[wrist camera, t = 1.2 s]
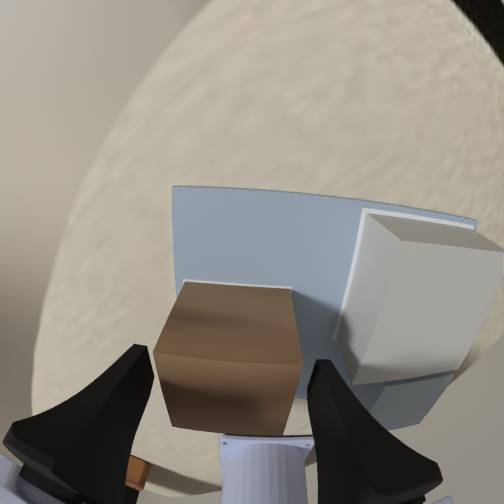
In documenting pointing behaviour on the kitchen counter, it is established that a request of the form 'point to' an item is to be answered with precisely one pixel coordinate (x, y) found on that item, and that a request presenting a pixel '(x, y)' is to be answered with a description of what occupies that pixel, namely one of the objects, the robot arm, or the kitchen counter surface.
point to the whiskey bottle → (135, 479)
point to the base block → (416, 298)
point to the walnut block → (230, 359)
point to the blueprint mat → (282, 252)
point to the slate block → (402, 398)
